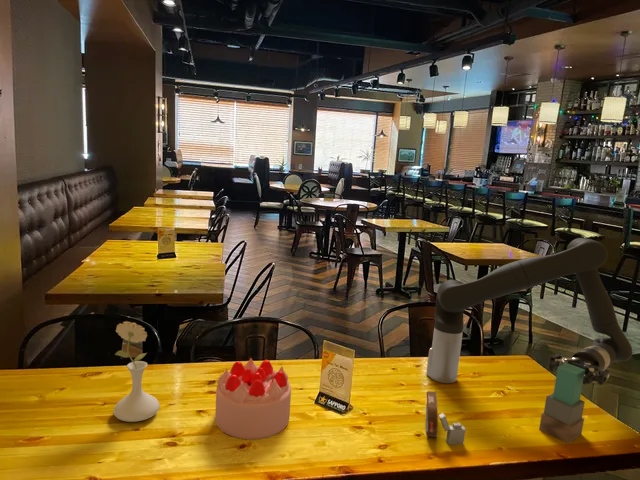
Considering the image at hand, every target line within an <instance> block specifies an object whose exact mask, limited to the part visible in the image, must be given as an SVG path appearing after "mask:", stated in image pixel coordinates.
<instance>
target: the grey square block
mask: <svg viewBox="0 0 640 480" xmlns="http://www.w3.org/2000/svg"><path fill="white" fill-rule="evenodd" d="M553 394H554V392H553V393H551V394H549V395H547V396H546V398H545V403H544V409H543V410H544V411H543V413H544V414H546V415H548V416H550V417H552V418H554V419H556V420H558V421H560V422H563V423H565V424H567V425H569V426H570V425H572V424H573V423H575V422H577V421H578V420H580V419H582V418H583V414H584V413H583V412H584V408H585V403H586V402H585V401H584V400H582V399H580V401H578V402H577V403H575V404H574V405H572V406H571V405H569V404H567V403H564V402H562V401H560V400H557V399H555V398H553Z"/></svg>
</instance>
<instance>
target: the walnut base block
mask: <svg viewBox="0 0 640 480" xmlns="http://www.w3.org/2000/svg"><path fill="white" fill-rule="evenodd" d="M584 422H585V417H582V419H580V420H578V421H577V422H575V423H573V424H572V425H570V426H569V425H567V424H565V423H563V422H560V421H558V420H556V419H554V418H552V417H550V416H548V415H546V414H544V412H542V413H541V415H540V423H539V426H538V427H539V428H538V430H539V431H541V432H544V433H545V434H547V435H549V436H552V437H554V438H556V439H557V440H560V441H562V442H564V443H566V444H567V445H570V444H571V443H572V442H574V441H575V440H576V439H578V438H579V437H581V436H582V433H583V428H584Z"/></svg>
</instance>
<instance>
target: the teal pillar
mask: <svg viewBox="0 0 640 480" xmlns="http://www.w3.org/2000/svg"><path fill="white" fill-rule="evenodd" d="M584 373H585V369H582V368H579V367H576V366H574V365H571V364H568V363H564V364H563V365H562V364H560V365H559V367H558V368H557V370H556V375H555V376H556V377H555V382H554V389H553V393H554V394H553V393H552V394H553V398H555V399H557V400H560V401H562V402H564V403H567V404H569V405H571V406H572V405H574V404H575V403H577V402H578V401H580V400H581V395H582V392H583V391H582V390H583V385H584V384H583V378H584Z"/></svg>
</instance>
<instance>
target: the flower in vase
mask: <svg viewBox="0 0 640 480" xmlns="http://www.w3.org/2000/svg"><path fill="white" fill-rule="evenodd" d="M115 328H116V329H115V332H116V333H117V335H118V336H120V338H121V339H124V340H125V341H127V348H126V351H123V350H118V351H116V352H115V353H114V355H115V356H119V357H123V358H128V357H129V359H130V361H131V362H129V363H127V364H126V368H127V370H129V373H130V375H131V383H132V385H131V386H132V388H131V391H130V393H128V394H127V395H125V396H124V397H123V398H121V399H120V400H119V401H118V402H117V403H116V404H115V406H114V408H113V415H114V416H115V418H116V419H118V420H120V421H122V422H129V423H132V422H133V423H134V422H140V421H144V420H147V419H150V418H151V417H153V416H155V415H156V414H157V412H158V411H159V409H160V407H161V406H160V402H159V400H158V399H157V398H156V397H154V395H151V394H149V393H147V392H146V391H144V390H143V387H142V381H143V374H144V371H145V370H146V368H147V366H148V362H146V361H142V359H143V358H144V357H145V356H146V355H147V352H146V353H140V354H138V355H137V356H136V357H135V358H134V359H133V358H132V355H130V351H129V350H130V349H129V348H130V342H131V343H137V344H138V343H142V342H146V339H147V337H148V333H147V331H145V330H146V329H145V327H142V325H137V323H136V322H132V323H131V322H130V321H123V322H122V323H118V324H117V325H116V327H115Z"/></svg>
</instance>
